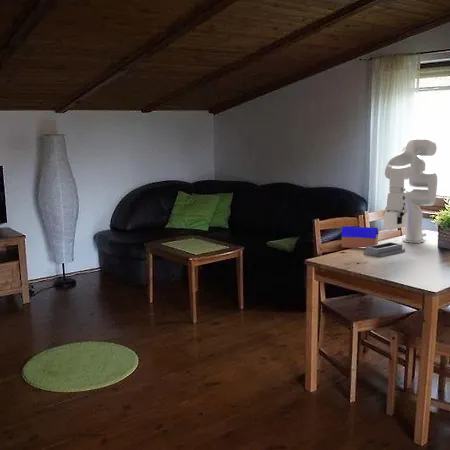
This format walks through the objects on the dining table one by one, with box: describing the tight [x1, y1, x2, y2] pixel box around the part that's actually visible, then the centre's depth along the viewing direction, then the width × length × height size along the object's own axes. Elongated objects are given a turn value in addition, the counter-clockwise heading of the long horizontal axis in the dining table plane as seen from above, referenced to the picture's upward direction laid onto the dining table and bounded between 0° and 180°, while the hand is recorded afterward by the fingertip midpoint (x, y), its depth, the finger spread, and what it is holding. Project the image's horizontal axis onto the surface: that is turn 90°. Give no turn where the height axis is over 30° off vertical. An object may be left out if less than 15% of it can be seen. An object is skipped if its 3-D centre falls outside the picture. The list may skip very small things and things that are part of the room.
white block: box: [383, 210, 408, 231], centre depth 298 cm, size 15×4×9 cm, turn 126°
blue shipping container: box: [340, 226, 379, 249], centre depth 322 cm, size 12×20×12 cm, turn 67°
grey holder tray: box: [363, 241, 406, 258], centre depth 304 cm, size 20×12×4 cm, turn 124°
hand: (395, 223), depth 298 cm, fingers closed on white block, 4 cm apart
